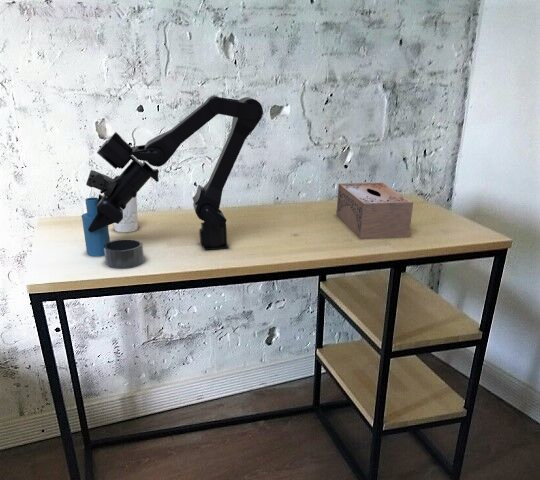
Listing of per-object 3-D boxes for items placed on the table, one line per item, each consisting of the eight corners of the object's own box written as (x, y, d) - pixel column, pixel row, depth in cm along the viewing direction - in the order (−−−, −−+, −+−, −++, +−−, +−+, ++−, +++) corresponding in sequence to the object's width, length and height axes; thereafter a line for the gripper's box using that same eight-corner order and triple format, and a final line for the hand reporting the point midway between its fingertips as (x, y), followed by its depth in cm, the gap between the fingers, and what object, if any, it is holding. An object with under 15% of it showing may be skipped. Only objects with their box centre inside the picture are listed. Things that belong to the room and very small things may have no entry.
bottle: (110, 248, 149) (104, 195, 142) (111, 255, 144) (104, 201, 137) (87, 250, 147) (79, 196, 141) (87, 257, 142) (79, 202, 136)
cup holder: (142, 254, 144) (140, 237, 142) (145, 266, 136) (143, 249, 134) (105, 257, 142) (103, 240, 140) (106, 270, 134) (104, 252, 132)
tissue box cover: (336, 214, 181) (338, 183, 177) (379, 213, 183) (382, 182, 179) (360, 238, 159) (363, 203, 154) (409, 236, 161) (413, 202, 156)
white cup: (107, 229, 164) (102, 194, 160) (130, 223, 169) (127, 190, 165) (121, 234, 160) (117, 199, 155) (145, 229, 164) (141, 195, 160)
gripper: (105, 152, 144) (66, 197, 146) (101, 166, 127) (58, 216, 130) (139, 182, 149) (101, 225, 152) (140, 199, 132) (98, 246, 135)
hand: (90, 227), depth 142 cm, fingers closed on bottle, 6 cm apart
